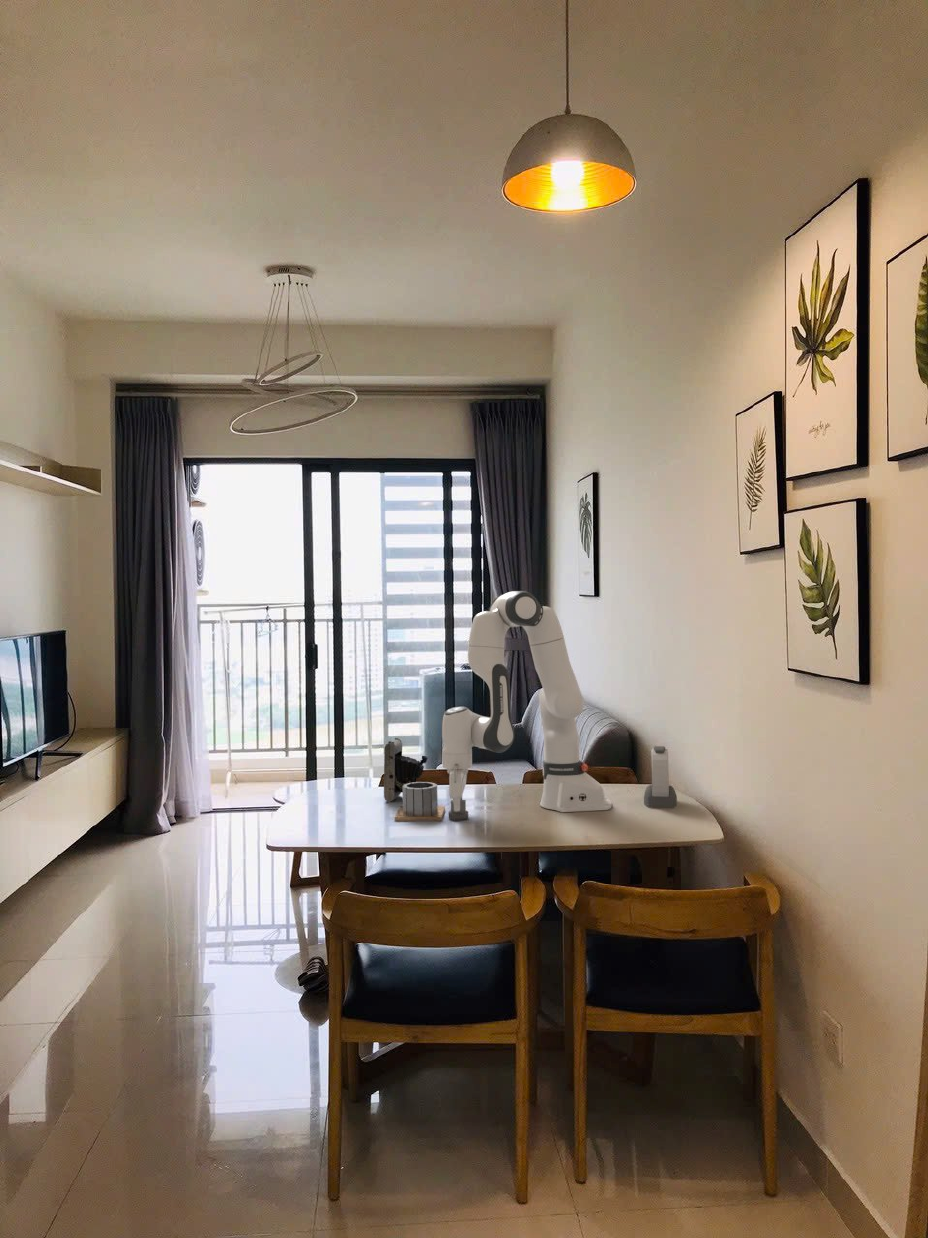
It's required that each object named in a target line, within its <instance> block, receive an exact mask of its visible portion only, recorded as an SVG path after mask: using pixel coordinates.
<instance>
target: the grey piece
mask: <svg viewBox="0 0 928 1238" xmlns="http://www.w3.org/2000/svg"><path fill="white" fill-rule="evenodd" d="M668 750H669V749H666V747H665V746H663V745H655V746H653V748H651V784H649V785H648V786H647V787H645V790H644V795H643V804H644V806H645V807H646V808H647V809H668V810H669V809H674V808H676V807H677V805H678V800H677V799H678V797H677V793H676V790H675V788H674V787H673V785H669V782H670V779H669V777H670V776H669V775H670V774H669V751H668Z"/></svg>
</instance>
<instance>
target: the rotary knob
mask: <svg viewBox="0 0 928 1238" xmlns="http://www.w3.org/2000/svg"><path fill="white" fill-rule="evenodd" d="M466 802H467V801H466V799H462V800H460V811H454V803H453V799H451V800H450V811H448V820H449V821H452V822H453V821H454V822H463V821H467V820H469V811H468V810H467V809H466V808H467V804H466Z"/></svg>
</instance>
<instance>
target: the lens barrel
mask: <svg viewBox="0 0 928 1238" xmlns="http://www.w3.org/2000/svg"><path fill="white" fill-rule="evenodd" d="M406 783H407V782H406ZM406 783H403V784H402V785H403V786H402V787H403V792H402V805H401V806H400V807H399V809H398V810H397V812H396V814H395V815H394V822H441V821H442V820H443V817H444V815H445V811H446V805H438V802H439V800H438V784H437V783H435V782H428V781H416V782H413V783H411V782H409V783H407V784H406Z"/></svg>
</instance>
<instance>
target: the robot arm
mask: <svg viewBox="0 0 928 1238" xmlns="http://www.w3.org/2000/svg"><path fill="white" fill-rule="evenodd" d="M517 627H522V628H523V630H524V631H525V633H526V635H527V639H528V643H529V647H530V652H531V655H532V660H533V665H534V670H535V671H536V673H537V675H538V678H539V681H540V684H541V686H542V688H541V689H540V690H539V694H538V701H539V709H540V717H541V718H540V719H541V725H542V732H543V751H544V752H543V753H544V755H543V756H544V757H543V758H544V760H543V761H542V776H543V786H542V787H543V789H542V794H541V800H540V803H539V806H540V807H542V808H544V809H548V810H554V811H557V812H561V813H569V812H571V813H572V812H591V811H607V810H611V808H612V804H613V803H612V801H611V800H610V799H609V798H607V797H605V792H604V788H603V786H602V784H601V783H600V782H598V781H597V780H596V779H595V778H594V777H592V776H591V775H589V774H588V773H587V771H588V770H589V767H588V765H587V763H585V762H584V761H582V760H580V736H579V731H578V728H577V724H576V718H577V717H579V716H580V715H581V714H582V712H583V711H584V708H585V700H584V696H583V695H582V692H581V689H580V686H579V683H578V680H577V678H576V675H575V672H574V670H573V666H572V664H571V661H570V657H569V654H568V653H569V652H568V648H567V644H566V642H565V641H566V640H565V638H564V633H563V629H562V625H561V624H560V621H559V619H558V616H557V613H556V611H555V610H554V609H553V608H552V607H550V606H547V605H545V606H544V605H542V604H540V602H539V600H538V599H537V598H536V597H535V595H533V594H532V593H530V592H529V591H526V590H513V591H508V592H506V593H502V594H500V595H498V596H497V597H495V598H494V599H493V601H492V602H491V604H490V606H489V607H488V609H487V610H484V611H481V612H479V613H476V614H475V616H474V617H473V619H472V623H471V628H470V632H469V638H468V647H467V662H468V665H469V666H468V667H470V669H471V670H472V671H473V673H474V674H475V675H477V676H478V677H480V678H481V679H482V680H483V681H484V682H485V683H486V684H487V686H488V689H489V696H490V697H489V698H490V716H484V715H481V714H478V713H475V712H473V711H471V710H470V709H469V708H468V707H466V706H455V707H451V708H449V709H447V710H446V711H445V712H444V714H443V717H442V723H441V724H442V725H441V726H442V727H441V728H442V729H441V731H442V732H441V739H442V741H443V742H442V743H443V748H442V768H443V769H446V773H447V774H448V775H449V777H448V779H449V780H448V781H449V786H448V788H449V789H448V791H449V793H448V794H449V798H450V799H451V800H453V803H454V811H460V800H463V797H464V796H463V795H464V791H465V789H466V788H465V787H466V784H467V777H468V773H469V769H471V768H472V767H473V749H472V748H473V747H476V748H478V749H484V750H488V751H490V752H493V753H497V754H501V753H505V752H506V751H507V750H508V749H510V747H511V746H512V744H513V742H514V740H515V729H514V727H515V726H514V724H513V719H512V707H511V706H512V704H511V702H512V701H511V683H510V675H509V671H508V669H507V666H506V662H505V652H504V651H505V637H506V635H507V632H508V630H509V629H510V628H517Z"/></svg>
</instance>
